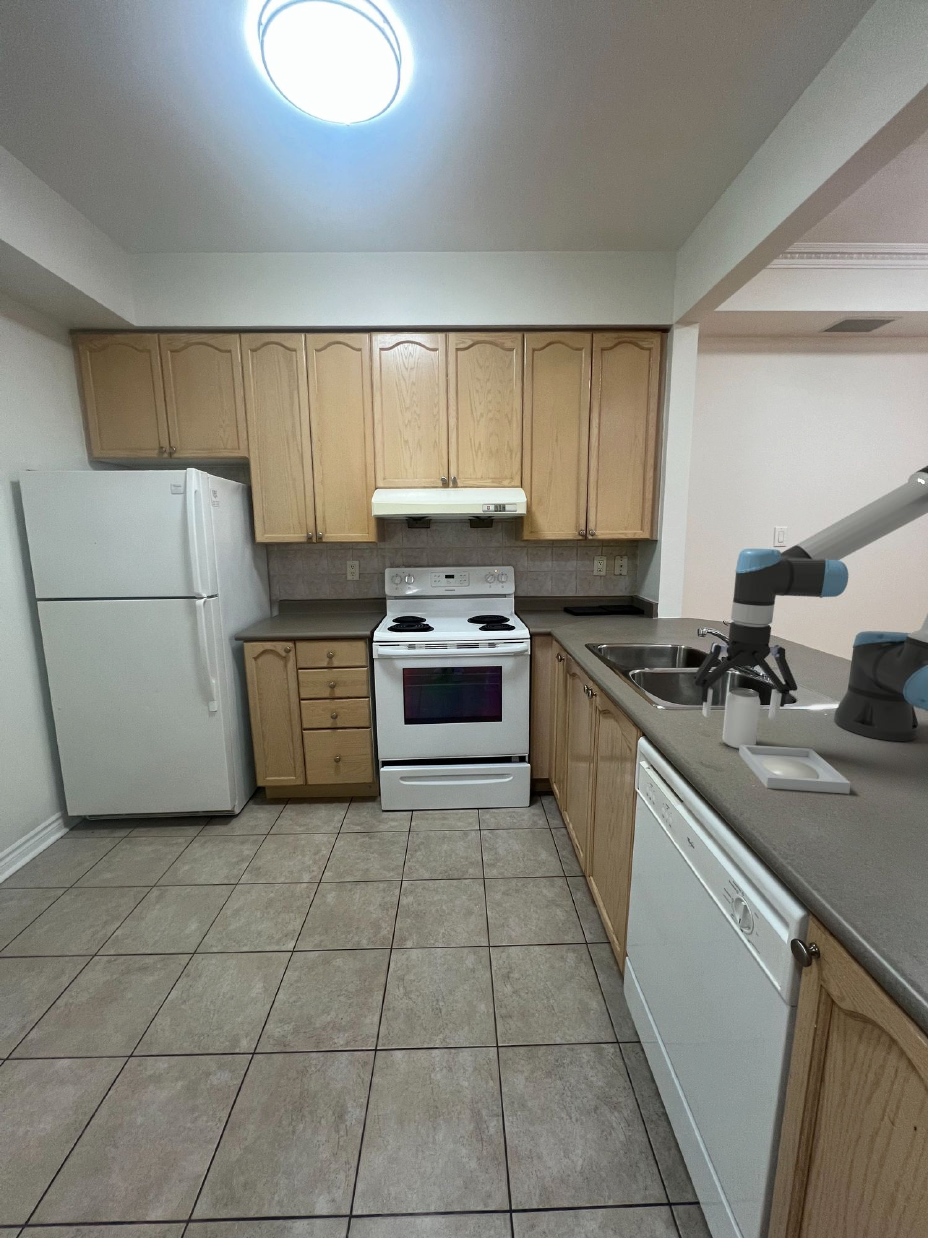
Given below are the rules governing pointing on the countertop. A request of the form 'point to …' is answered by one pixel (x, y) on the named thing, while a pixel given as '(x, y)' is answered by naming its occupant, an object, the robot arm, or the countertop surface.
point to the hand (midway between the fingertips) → (739, 718)
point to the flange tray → (793, 769)
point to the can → (741, 717)
